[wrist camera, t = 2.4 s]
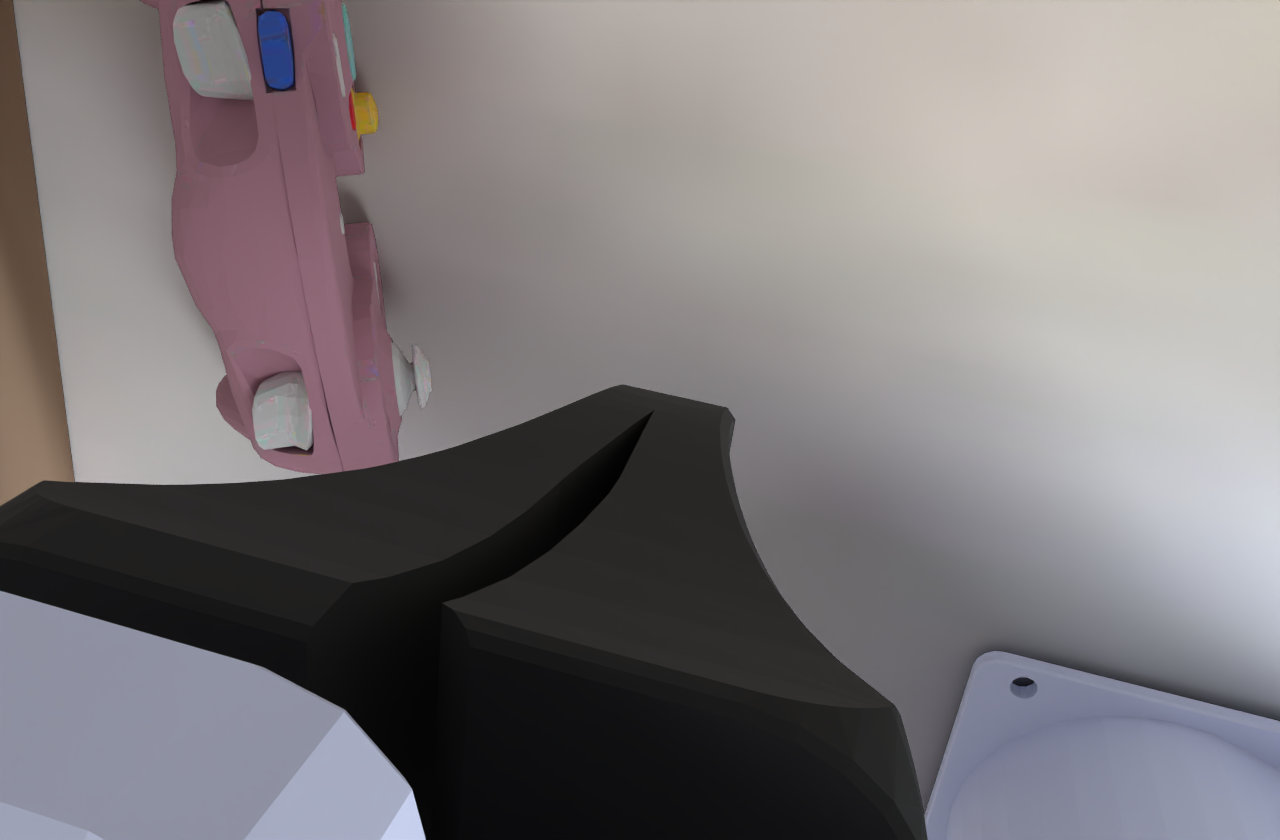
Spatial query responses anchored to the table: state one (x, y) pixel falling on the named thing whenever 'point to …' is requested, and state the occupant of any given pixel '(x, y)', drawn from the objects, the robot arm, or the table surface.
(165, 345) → the table surface
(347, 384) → the video game controller
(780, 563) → the table surface
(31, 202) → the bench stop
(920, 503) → the table surface
